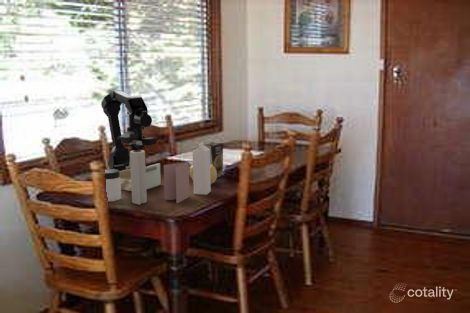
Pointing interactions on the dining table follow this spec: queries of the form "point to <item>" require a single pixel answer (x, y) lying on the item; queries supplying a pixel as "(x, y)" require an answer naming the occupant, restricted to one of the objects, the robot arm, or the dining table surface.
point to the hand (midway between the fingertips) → (137, 159)
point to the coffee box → (216, 156)
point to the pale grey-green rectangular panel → (153, 176)
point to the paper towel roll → (138, 176)
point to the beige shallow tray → (125, 179)
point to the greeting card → (176, 181)
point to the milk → (201, 170)
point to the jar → (113, 184)
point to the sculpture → (212, 173)
